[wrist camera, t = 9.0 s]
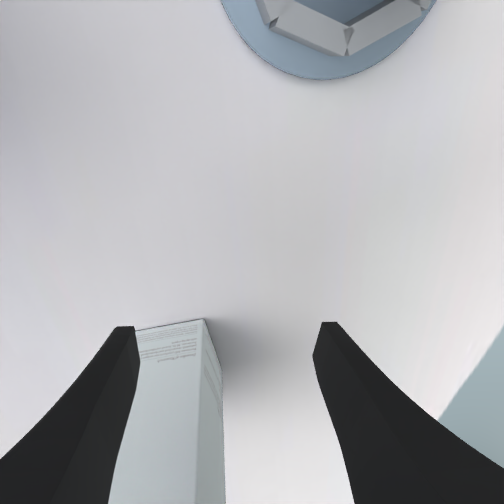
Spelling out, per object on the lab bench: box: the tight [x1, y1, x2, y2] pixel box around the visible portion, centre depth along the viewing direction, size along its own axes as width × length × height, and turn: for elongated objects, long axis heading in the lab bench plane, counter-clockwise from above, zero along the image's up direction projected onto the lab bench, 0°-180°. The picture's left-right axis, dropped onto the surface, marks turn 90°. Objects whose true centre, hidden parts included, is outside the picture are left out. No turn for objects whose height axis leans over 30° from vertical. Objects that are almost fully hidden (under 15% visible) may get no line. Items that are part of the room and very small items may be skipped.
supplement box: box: [108, 319, 226, 504], centre depth 21 cm, size 7×7×13 cm
